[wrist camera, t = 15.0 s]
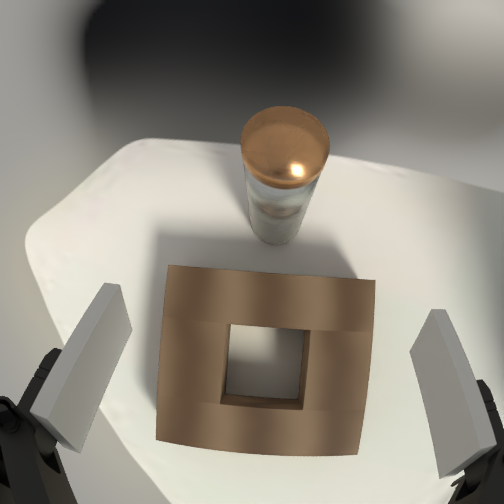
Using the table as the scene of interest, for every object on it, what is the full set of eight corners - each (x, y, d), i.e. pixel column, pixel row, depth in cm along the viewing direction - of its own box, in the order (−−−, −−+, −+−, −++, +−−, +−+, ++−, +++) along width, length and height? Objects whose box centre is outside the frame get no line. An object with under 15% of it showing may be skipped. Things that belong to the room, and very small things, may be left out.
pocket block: (361, 285, 31) (375, 280, 27) (346, 440, 27) (357, 454, 23) (179, 271, 31) (168, 264, 27) (167, 427, 28) (155, 439, 24)
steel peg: (302, 198, 33) (328, 110, 18) (300, 246, 32) (330, 185, 17) (252, 194, 33) (244, 104, 18) (247, 242, 32) (236, 177, 17)
